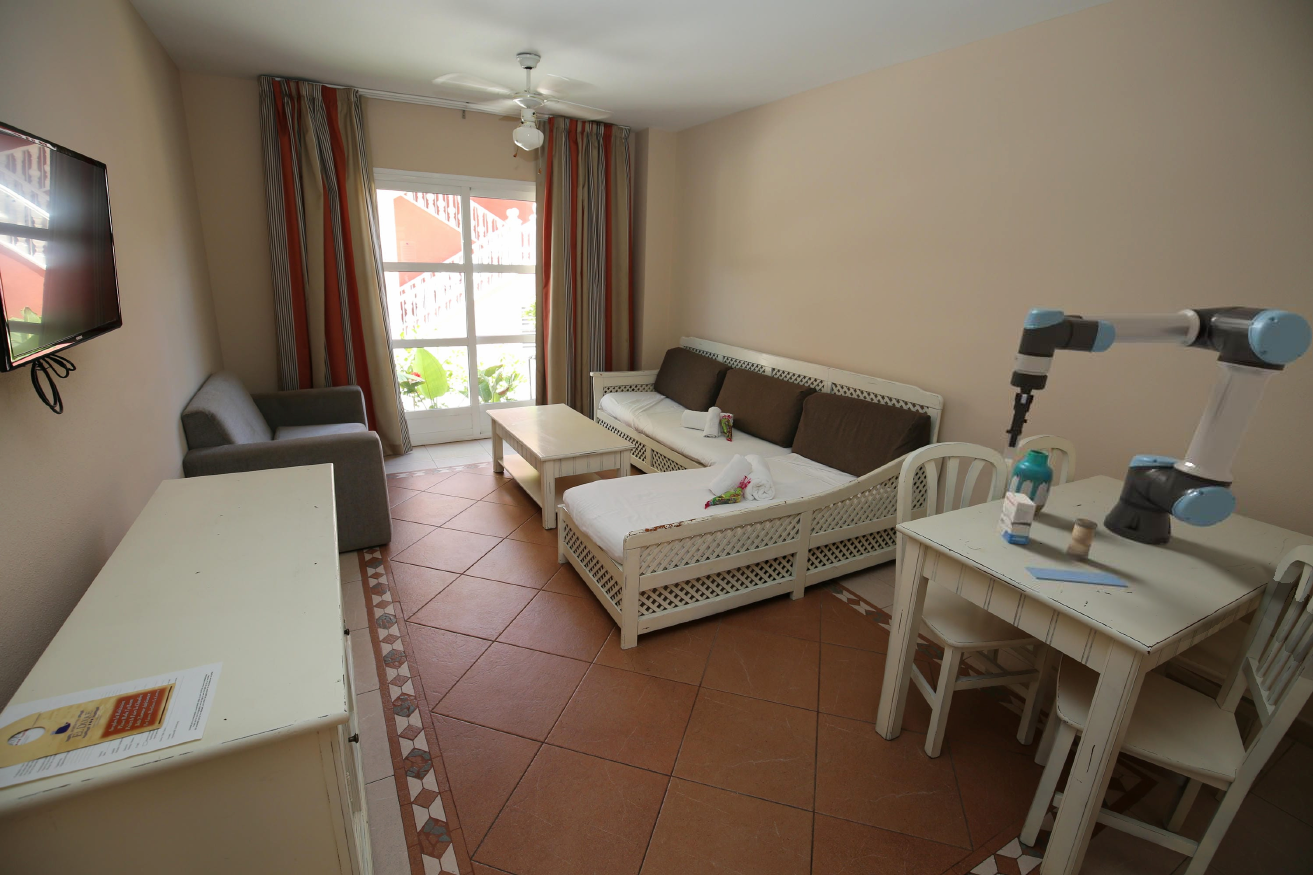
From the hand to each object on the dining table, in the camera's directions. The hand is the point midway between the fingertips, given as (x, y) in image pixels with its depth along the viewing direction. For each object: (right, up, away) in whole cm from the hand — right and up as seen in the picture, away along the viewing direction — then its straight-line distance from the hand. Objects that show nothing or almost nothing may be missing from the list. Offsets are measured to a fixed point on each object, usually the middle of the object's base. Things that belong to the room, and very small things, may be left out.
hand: (1010, 452), depth 152 cm
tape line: (+9, -30, -11) cm, 33 cm away
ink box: (+5, -24, +9) cm, 26 cm away
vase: (+20, -19, +27) cm, 39 cm away
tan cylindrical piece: (+17, -27, -1) cm, 32 cm away
